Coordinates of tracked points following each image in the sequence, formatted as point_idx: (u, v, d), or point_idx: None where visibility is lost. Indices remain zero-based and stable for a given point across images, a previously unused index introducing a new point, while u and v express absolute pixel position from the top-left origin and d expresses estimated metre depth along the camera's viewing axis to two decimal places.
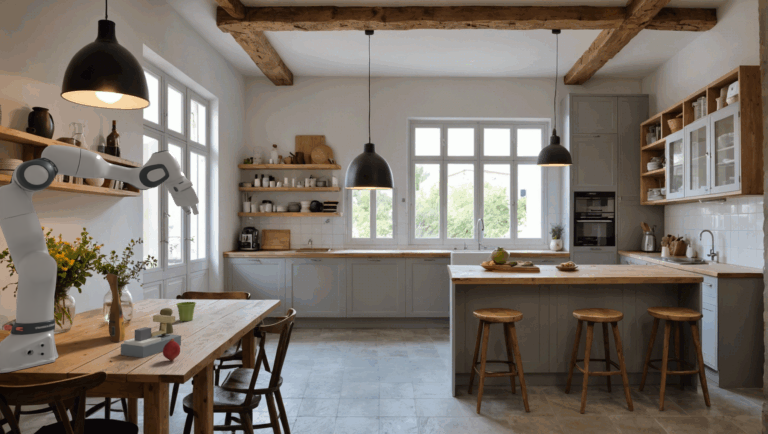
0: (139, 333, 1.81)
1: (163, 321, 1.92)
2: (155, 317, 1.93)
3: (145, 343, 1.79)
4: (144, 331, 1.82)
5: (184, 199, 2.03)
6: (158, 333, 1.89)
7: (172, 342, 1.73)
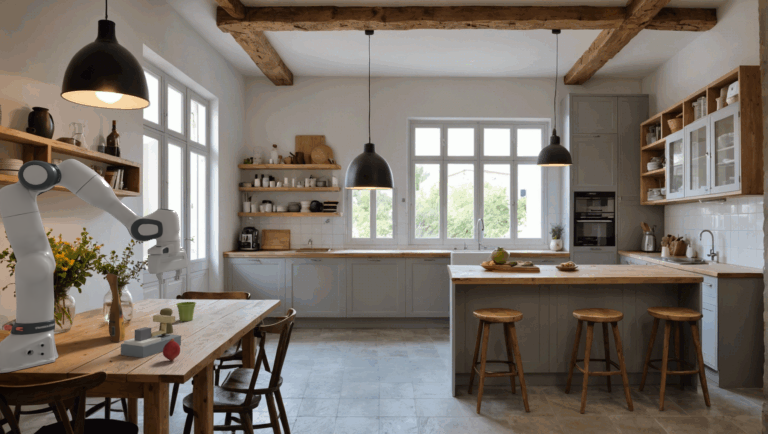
0: (139, 333, 1.81)
1: (163, 321, 1.92)
2: (155, 317, 1.93)
3: (145, 343, 1.79)
4: (144, 331, 1.82)
5: None
6: (158, 333, 1.89)
7: (172, 342, 1.73)
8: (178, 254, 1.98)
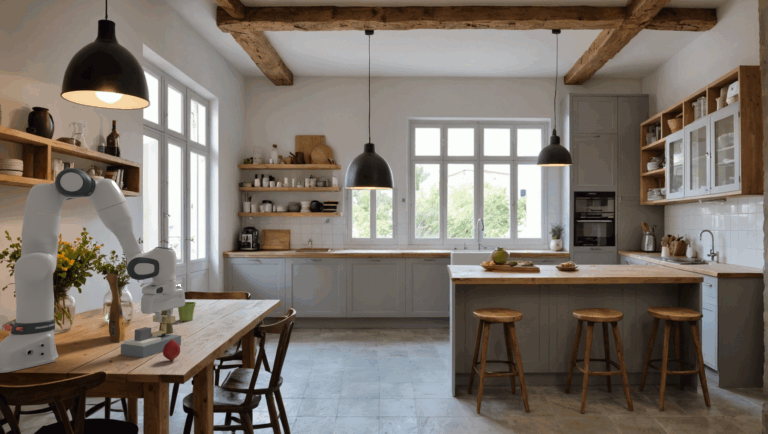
0: (139, 333, 1.81)
1: (163, 321, 1.92)
2: (155, 317, 1.93)
3: (145, 343, 1.79)
4: (144, 331, 1.82)
5: None
6: (158, 333, 1.89)
7: (172, 342, 1.73)
8: (174, 293, 1.96)
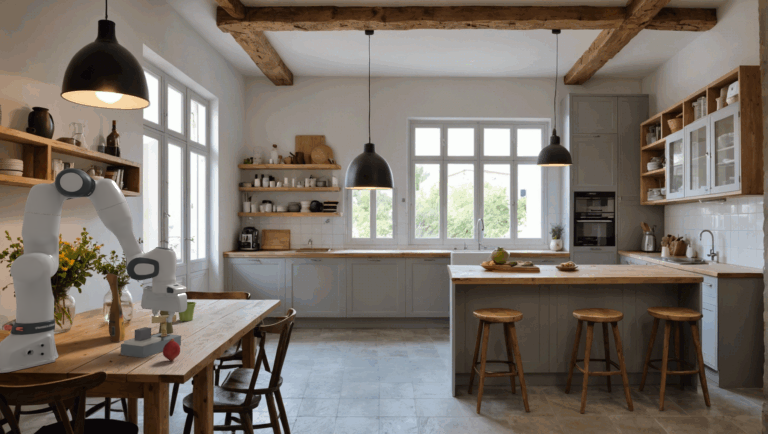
0: (139, 333, 1.81)
1: None
2: (155, 318, 1.91)
3: (145, 343, 1.79)
4: (144, 331, 1.82)
5: (170, 303, 1.90)
6: (166, 333, 1.90)
7: (172, 342, 1.73)
8: None
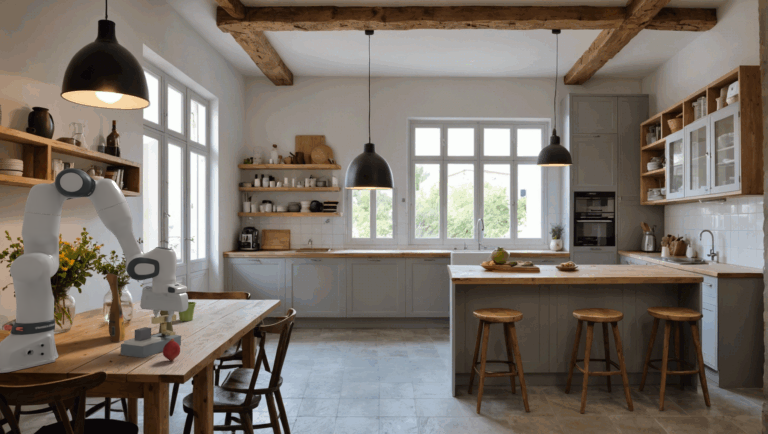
0: (139, 333, 1.81)
1: None
2: (158, 318, 1.90)
3: (145, 343, 1.79)
4: (144, 331, 1.82)
5: (171, 303, 1.90)
6: None
7: (172, 342, 1.73)
8: None
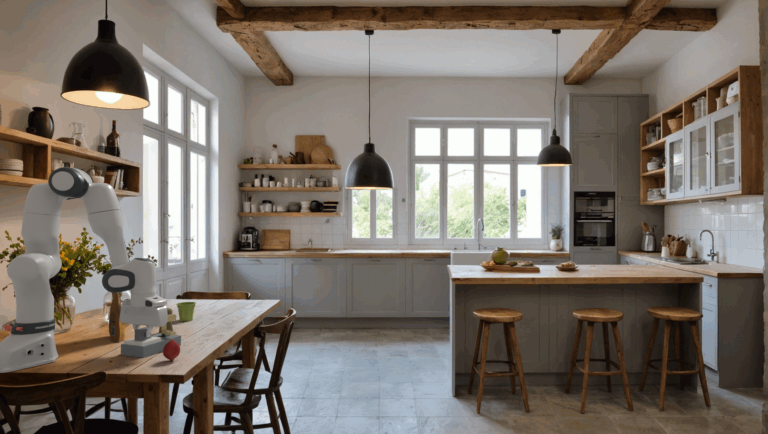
0: (139, 333, 1.81)
1: (167, 320, 1.93)
2: None
3: (145, 343, 1.79)
4: (144, 331, 1.82)
5: (149, 317, 1.80)
6: None
7: (172, 342, 1.73)
8: None
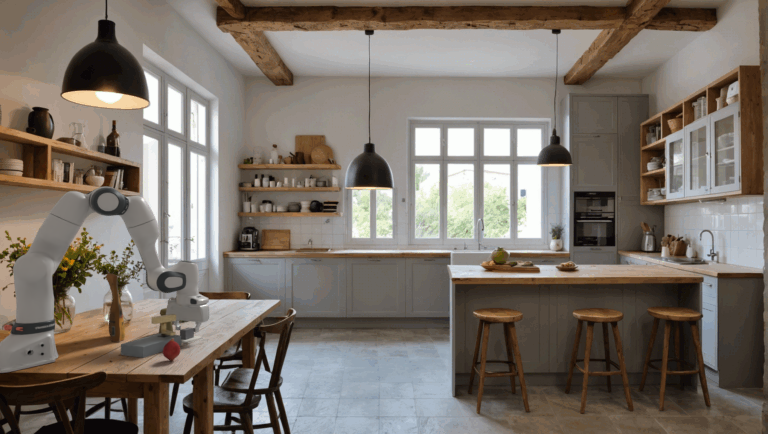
0: (184, 333, 2.01)
1: (167, 320, 1.93)
2: (158, 318, 1.90)
3: (190, 342, 1.99)
4: (188, 331, 2.02)
5: (193, 313, 2.00)
6: None
7: (172, 342, 1.73)
8: None
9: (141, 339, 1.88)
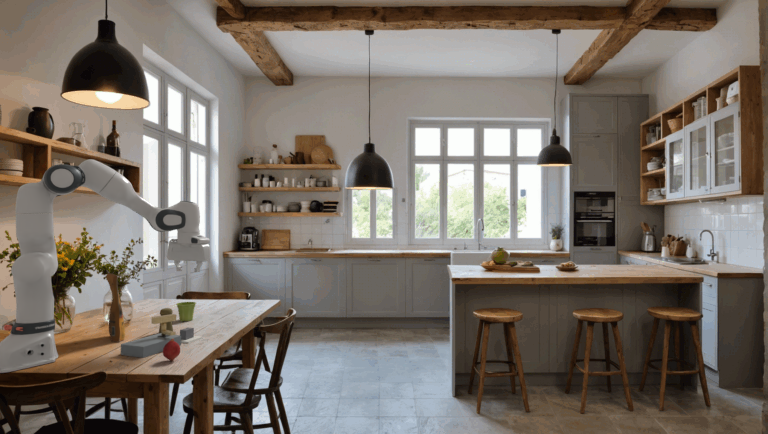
0: (184, 333, 2.01)
1: (167, 320, 1.93)
2: (158, 318, 1.90)
3: (190, 342, 1.99)
4: (188, 331, 2.02)
5: (194, 253, 2.00)
6: None
7: (172, 342, 1.73)
8: None
9: (141, 339, 1.88)
